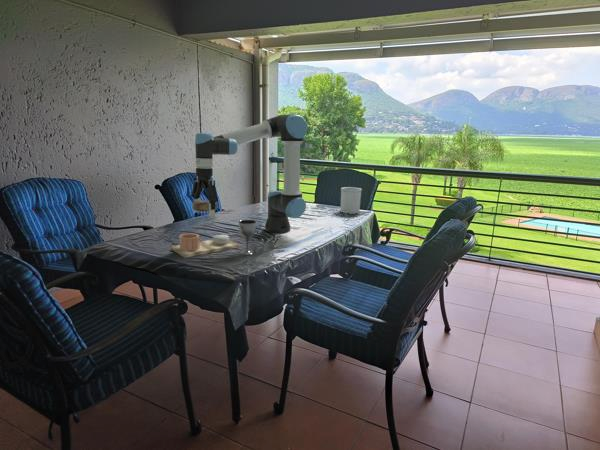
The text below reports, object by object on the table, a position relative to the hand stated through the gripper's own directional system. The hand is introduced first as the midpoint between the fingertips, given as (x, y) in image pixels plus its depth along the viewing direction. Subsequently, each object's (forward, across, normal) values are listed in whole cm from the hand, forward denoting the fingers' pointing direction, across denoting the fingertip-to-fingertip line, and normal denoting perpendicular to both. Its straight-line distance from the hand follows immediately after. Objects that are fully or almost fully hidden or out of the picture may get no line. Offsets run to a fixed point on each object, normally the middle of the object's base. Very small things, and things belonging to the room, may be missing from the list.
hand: (204, 214), depth 180 cm
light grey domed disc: (+15, +1, +8) cm, 18 cm away
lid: (-3, 0, 0) cm, 3 cm away
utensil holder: (+15, -5, +127) cm, 128 cm away
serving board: (+17, 0, 0) cm, 17 cm away
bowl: (+16, -1, -8) cm, 17 cm away
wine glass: (+17, +18, +11) cm, 27 cm away
